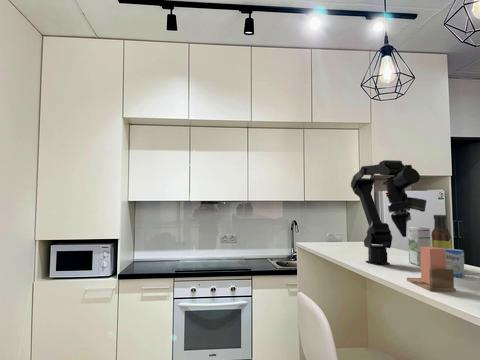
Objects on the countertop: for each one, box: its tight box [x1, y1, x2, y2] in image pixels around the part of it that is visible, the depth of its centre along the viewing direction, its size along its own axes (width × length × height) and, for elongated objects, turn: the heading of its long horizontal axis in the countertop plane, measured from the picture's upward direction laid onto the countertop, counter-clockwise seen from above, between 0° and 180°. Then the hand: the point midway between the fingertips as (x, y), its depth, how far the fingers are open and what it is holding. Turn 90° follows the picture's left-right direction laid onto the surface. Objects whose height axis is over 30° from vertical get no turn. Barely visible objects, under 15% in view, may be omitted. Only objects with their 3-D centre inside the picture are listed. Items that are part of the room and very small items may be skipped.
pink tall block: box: [420, 246, 446, 285], centre depth 88 cm, size 4×4×10 cm
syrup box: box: [407, 226, 432, 267], centre depth 122 cm, size 6×6×14 cm
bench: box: [406, 269, 457, 293], centre depth 90 cm, size 12×7×6 cm, turn 1°
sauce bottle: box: [430, 214, 453, 249], centre depth 113 cm, size 6×6×20 cm
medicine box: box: [442, 248, 466, 278], centre depth 104 cm, size 8×4×9 cm, turn 47°
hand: (404, 236), depth 104 cm, fingers closed
